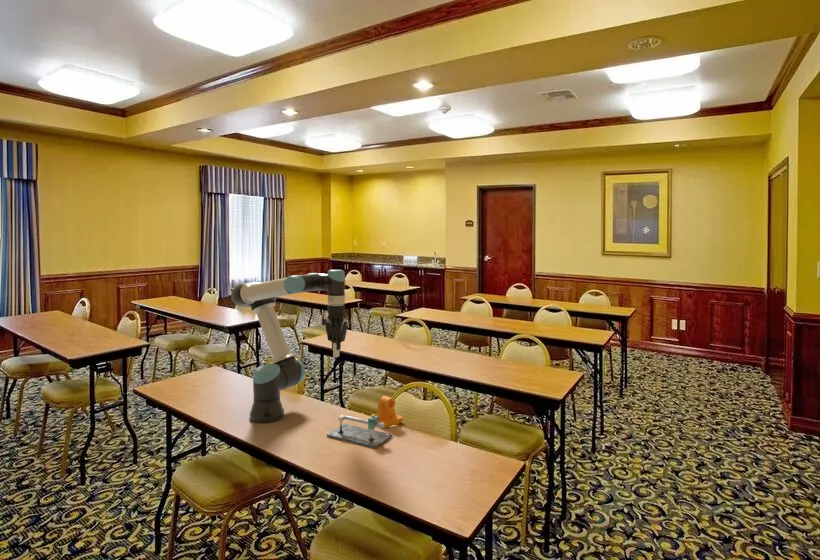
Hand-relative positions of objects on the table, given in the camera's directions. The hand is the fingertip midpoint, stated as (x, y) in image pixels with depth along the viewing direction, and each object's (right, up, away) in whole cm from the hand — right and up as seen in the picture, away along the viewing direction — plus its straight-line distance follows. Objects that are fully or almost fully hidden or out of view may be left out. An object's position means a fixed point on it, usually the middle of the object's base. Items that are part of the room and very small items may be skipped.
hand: (336, 356), depth 214 cm
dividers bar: (+13, -30, -16) cm, 36 cm away
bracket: (+24, -30, -1) cm, 38 cm away
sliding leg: (+18, -30, -18) cm, 39 cm away
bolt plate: (+12, -31, -15) cm, 36 cm away
